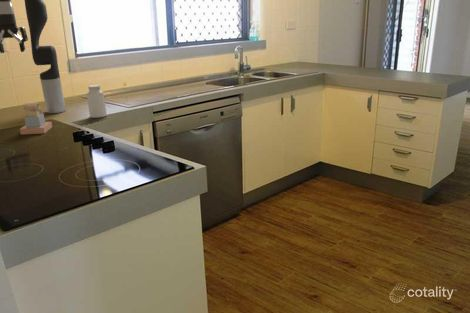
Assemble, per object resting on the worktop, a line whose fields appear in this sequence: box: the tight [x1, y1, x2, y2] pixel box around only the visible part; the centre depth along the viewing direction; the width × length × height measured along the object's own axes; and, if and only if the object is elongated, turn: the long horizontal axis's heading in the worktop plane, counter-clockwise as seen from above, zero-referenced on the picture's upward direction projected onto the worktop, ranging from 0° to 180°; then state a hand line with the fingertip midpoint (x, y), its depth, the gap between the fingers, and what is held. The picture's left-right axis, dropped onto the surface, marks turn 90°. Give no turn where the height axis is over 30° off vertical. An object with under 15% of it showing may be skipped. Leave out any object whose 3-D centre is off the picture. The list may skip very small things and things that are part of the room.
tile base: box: [19, 121, 53, 135], centre depth 184 cm, size 10×10×2 cm
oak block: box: [22, 102, 42, 117], centre depth 181 cm, size 5×5×5 cm
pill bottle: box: [86, 84, 107, 119], centre depth 203 cm, size 8×8×15 cm
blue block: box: [23, 113, 46, 127], centre depth 183 cm, size 6×6×4 cm
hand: (12, 52), depth 183 cm, fingers open, 8 cm apart
